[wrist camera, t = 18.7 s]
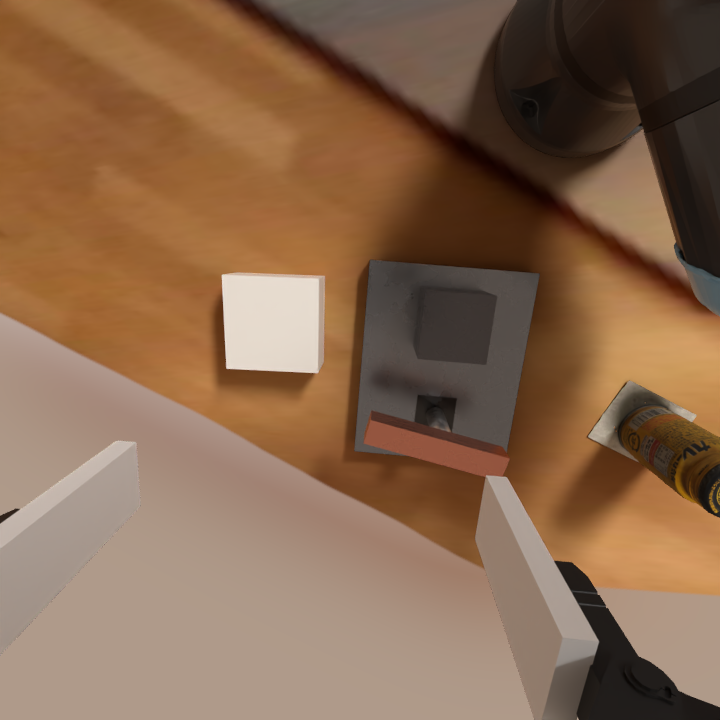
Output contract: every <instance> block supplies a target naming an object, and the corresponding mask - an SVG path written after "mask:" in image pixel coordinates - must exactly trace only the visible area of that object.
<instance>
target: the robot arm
mask: <svg viewBox="0 0 720 720" xmlns="http://www.w3.org/2000/svg"><path fill="white" fill-rule="evenodd" d="M494 77H495V88H496V93H497V98H498V101H499V104H500V107H501V110H502V112H503V114H504V116H505V118H506V120H507V122H508V123H509V125H510V126H511V128H512V129H513V130H514V131H515V133H516V134H517V135H518V136H519V137H520V138H521V139H522V140H524V141H525V142H526V143H527V144H529V145H530V146H532V147H533V148H535V149H537V150H539V151H541V152H544V153H546V154H550V155H553V156H558V157H570V158H572V157H584V156H589V155H593V154H596V153H599V152H602V151H604V150H607V149H609V148H611V147H613V146H615V145H618V144H620V143H622V142H624V141H626V140H627V139H629V138H631V137H632V136H634V135H635V134H636V133H638V132H639V131H641V130H642V129H644V133H645V134H644V135H645V138H646V142H647V145H648V149H649V152H650V155H651V159H652V162H653V166H654V169H655V172H656V176H657V179H658V182H659V186H660V189H661V193H662V196H663V199H664V203H665V206H666V209H667V213H668V216H669V220H670V223H671V226H672V230H673V233H674V236H675V240H676V243H675V245H674V249H675V253H676V256H677V258H678V260H679V261H680V262H681V264H682V265H683V266H684V267H685V270H686V272H687V275H688V278H689V281H690V284H691V286H692V289H693V292H694V294H695V296H696V297H697V299H698V300H699V301H700V302H701V303H702V304H703V305H705V306H707V308H708V309H709V310H711V311H713V312H714V313H715V314H716V315H718V316H720V0H517V2H516V4H515V6H514V8H513V9H512V11H511V13H510V15H509V17H508V19H507V21H506V23H505V25H504V27H503V30H502V33H501V35H500V39H499V42H498V46H497V51H496V56H495V68H494ZM140 506H141V502H140V487H139V473H138V459H137V444H136V442H127V441H115V442H114V443H112V444H111V445H110V446H108V447H107V448H105V449H104V450H103V451H101V452H100V453H98V454H97V455H96V456H94V457H93V458H92V459H90V460H89V461H87V462H86V463H84V464H83V465H82V466H80V467H79V468H77V469H76V470H75V471H74V472H72V473H70V474H69V475H68V476H66V477H65V478H63V479H62V480H61V481H60V482H58V483H56V484H55V485H54V486H52V487H51V488H49V489H48V490H47V491H45V492H44V493H42V494H41V495H40V496H38V497H37V498H36V499H34V500H33V501H32V502H30V503H29V504H27V505H26V506H24V507H23V508H22V509H14V510H12V511H10V512H7V513H5V514H3V515H1V516H0V655H1V654H2V653H3V652H4V651H5V650H6V649H7V648H8V647H9V646H10V645H11V643H12V642H13V641H14V640H15V639H16V638H17V637H18V636H19V635H20V634H21V633H22V632H23V631H24V630H25V629H26V627H27V626H28V625H29V624H30V623H31V622H32V621H33V620H34V619H35V618H36V617H37V616H38V615H39V614H40V613H41V611H43V609H44V608H45V607H46V606H47V605H48V604H49V603H50V602H51V601H52V600H53V599H54V598H55V597H56V596H57V595H58V594H59V592H60V591H61V590H62V589H63V588H64V587H65V586H66V585H67V584H68V583H69V582H70V581H71V580H72V579H73V578H74V577H75V576H76V574H77V573H78V572H79V571H80V570H81V569H82V568H83V567H84V566H85V565H86V564H87V563H88V561H90V559H91V558H92V557H93V556H94V555H95V554H96V553H97V552H98V551H99V550H100V549H101V548H102V547H103V546H104V545H105V544H106V543H107V541H108V540H109V539H110V538H111V537H112V536H113V535H114V534H115V533H116V532H117V531H118V530H119V529H120V528H121V527H122V526H123V524H124V523H125V522H126V521H127V520H128V519H129V518H130V517H131V516H132V515H133V514H134V513H135V512H136V511H137V510H138V509H139V508H140ZM475 541H476V544H477V547H478V550H479V553H480V556H481V559H482V562H483V565H484V568H485V571H486V574H487V577H488V580H489V583H490V586H491V590H492V593H493V596H494V599H495V602H496V605H497V608H498V611H499V614H500V617H501V620H502V623H503V626H504V629H505V632H506V635H507V638H508V641H509V644H510V647H511V650H512V653H513V656H514V659H515V662H516V666H517V669H518V672H519V675H520V678H521V681H522V684H523V686H524V690H525V693H526V696H527V699H528V702H529V705H530V708H531V711H532V714H533V717H534V720H577V717H578V719H579V720H720V707H718V706H715V705H712V704H710V703H707V702H704V701H702V700H699V699H696V698H694V697H691V696H688V695H686V694H684V693H682V692H680V691H678V689H677V687H676V686H675V684H674V683H673V682H672V680H671V679H670V678H669V677H668V676H667V675H666V674H665V673H664V672H663V671H662V670H660V669H659V668H658V667H656V666H655V665H654V664H652V663H651V662H649V661H647V660H645V659H643V658H641V657H639V656H638V655H637V653H636V652H635V650H634V649H633V647H632V646H631V644H630V642H629V641H628V639H627V638H626V637H625V635H624V633H623V631H622V630H621V628H620V627H619V625H618V624H617V622H616V621H615V619H614V617H613V616H612V614H611V613H610V611H609V609H608V608H606V605H605V603H604V602H603V600H602V598H601V597H600V595H598V594H597V591H596V589H595V587H594V586H593V584H592V583H591V581H590V580H589V578H588V577H587V576H586V575H585V574H584V573H583V572H582V571H581V570H580V569H579V568H578V567H576V566H575V565H574V564H573V563H572V562H562V561H554V560H553V559H552V557H551V555H550V553H549V551H548V550H547V548H546V546H545V544H544V542H543V541H542V539H541V537H540V535H539V534H538V532H537V530H536V528H535V526H534V525H533V523H532V521H531V519H530V518H529V516H528V514H527V512H526V510H525V509H524V507H523V505H522V503H521V501H520V500H519V498H518V496H517V494H516V493H515V491H514V489H513V487H512V485H511V484H510V482H509V480H508V478H507V477H500V476H489V475H486V478H485V484H484V490H483V495H482V501H481V507H480V512H479V518H478V524H477V530H476V535H475Z"/></svg>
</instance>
